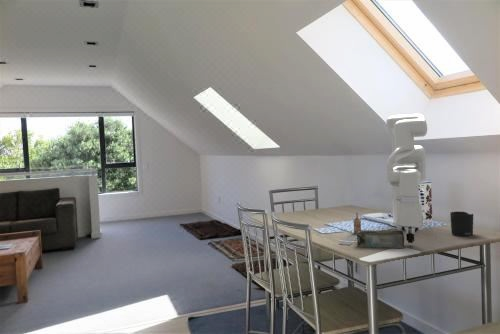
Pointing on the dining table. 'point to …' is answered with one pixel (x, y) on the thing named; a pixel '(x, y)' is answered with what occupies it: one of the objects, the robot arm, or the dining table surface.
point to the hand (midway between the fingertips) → (410, 242)
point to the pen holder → (461, 223)
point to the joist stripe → (348, 240)
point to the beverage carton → (380, 239)
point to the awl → (357, 224)
